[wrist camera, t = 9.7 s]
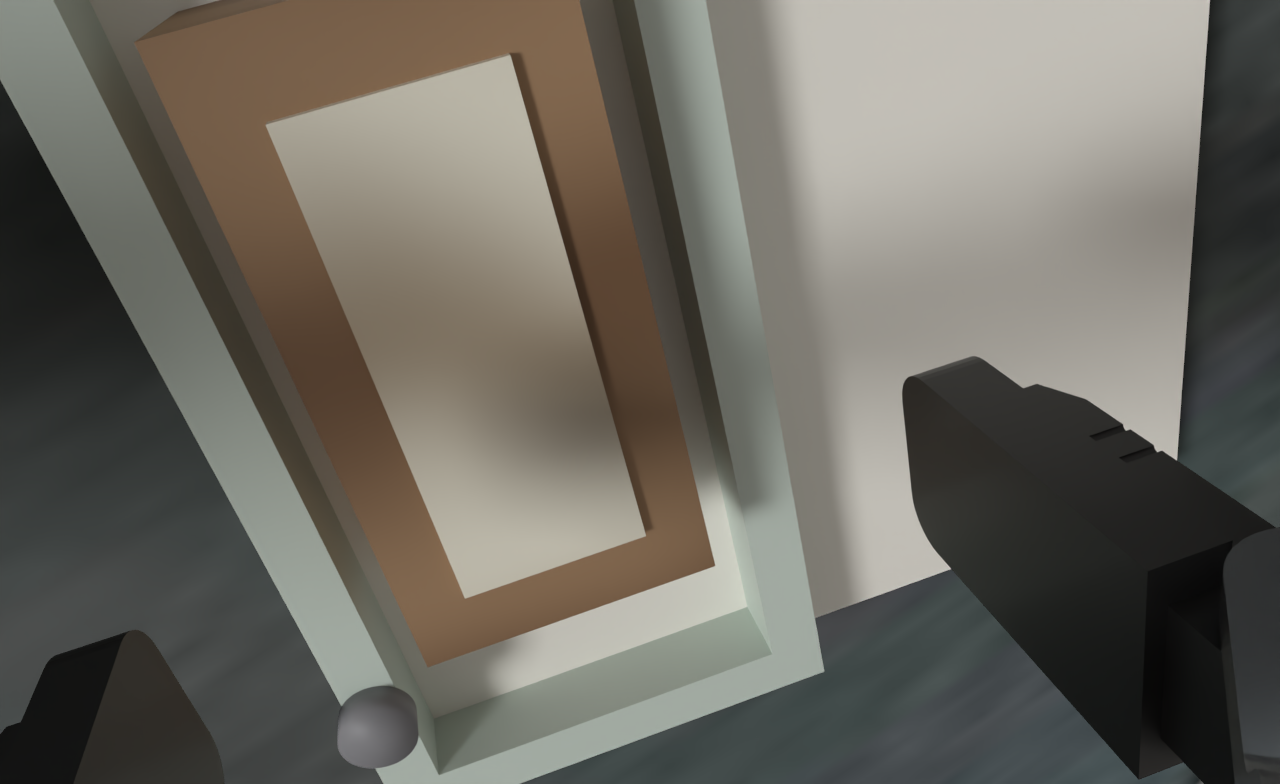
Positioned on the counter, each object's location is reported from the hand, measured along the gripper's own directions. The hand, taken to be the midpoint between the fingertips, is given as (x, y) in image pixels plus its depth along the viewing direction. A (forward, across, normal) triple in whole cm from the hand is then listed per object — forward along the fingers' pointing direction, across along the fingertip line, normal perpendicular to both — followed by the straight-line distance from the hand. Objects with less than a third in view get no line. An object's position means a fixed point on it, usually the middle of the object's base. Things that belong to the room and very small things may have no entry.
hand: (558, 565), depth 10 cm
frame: (+7, 0, -1) cm, 7 cm away
